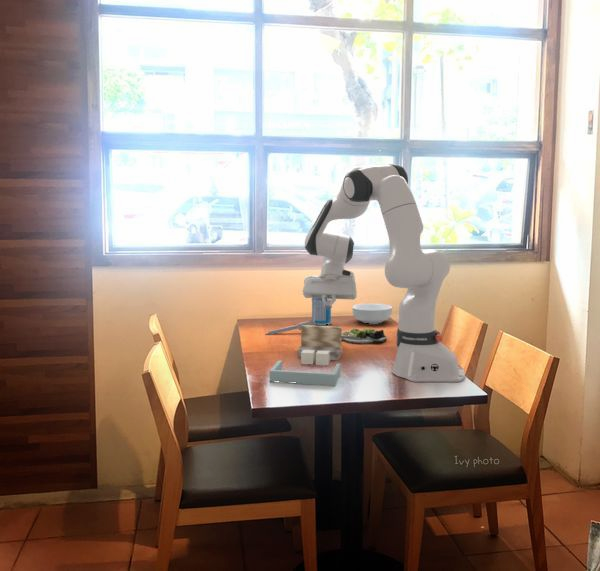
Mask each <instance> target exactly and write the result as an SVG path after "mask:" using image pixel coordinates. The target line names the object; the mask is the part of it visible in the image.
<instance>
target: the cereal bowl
mask: <svg viewBox="0 0 600 571" xmlns="http://www.w3.org/2000/svg"><path fill="white" fill-rule="evenodd" d="M351 309H352V314H353V317H354V318H355V319H356V320H358V321H360V322H362V323H363V322H364V323H363V324H365V323H369V324H368V325H379V323H380V324H382V322H384V321H387V320H388V319H389V318H390V317H391V315H392V313H393V307H392V305H389V304H384V303H371V302H370V303H369V302H367V303H366V302H365V303H359V304H355V305H353V306H352V308H351Z"/></svg>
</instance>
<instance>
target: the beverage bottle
mask: <svg viewBox="0 0 600 571" xmlns="http://www.w3.org/2000/svg"><path fill="white" fill-rule="evenodd" d="M331 300H332V299H326V301H331ZM312 318H313V320H315V324H317V325H316V326H327V325H326V324H328V325H330V324H332V308H328V307H324V302H323V300H322V298H311V319H312Z"/></svg>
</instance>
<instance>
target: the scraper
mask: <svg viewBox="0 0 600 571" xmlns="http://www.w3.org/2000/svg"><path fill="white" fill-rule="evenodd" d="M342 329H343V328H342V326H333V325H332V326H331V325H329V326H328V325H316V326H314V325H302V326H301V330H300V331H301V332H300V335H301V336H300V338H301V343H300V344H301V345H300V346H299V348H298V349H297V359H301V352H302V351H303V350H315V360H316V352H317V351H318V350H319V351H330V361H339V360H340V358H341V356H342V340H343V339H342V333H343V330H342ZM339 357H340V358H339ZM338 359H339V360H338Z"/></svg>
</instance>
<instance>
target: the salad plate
mask: <svg viewBox="0 0 600 571" xmlns="http://www.w3.org/2000/svg"><path fill="white" fill-rule="evenodd" d="M348 335H349V336H348ZM342 340H343V341H344V340H345V341H344V342H348V343H352V342H353V343H352V344H381V343H380V342H382V343H384V341H385V342H386V340H387V336H386V335H385V332H384V329H381V330H376V329H372V328H371V329H370V328H366V329H365V328H364V329H362V330H361V329H358V328H355V329H354V328H352V329H350V330H346V331H342Z"/></svg>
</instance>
